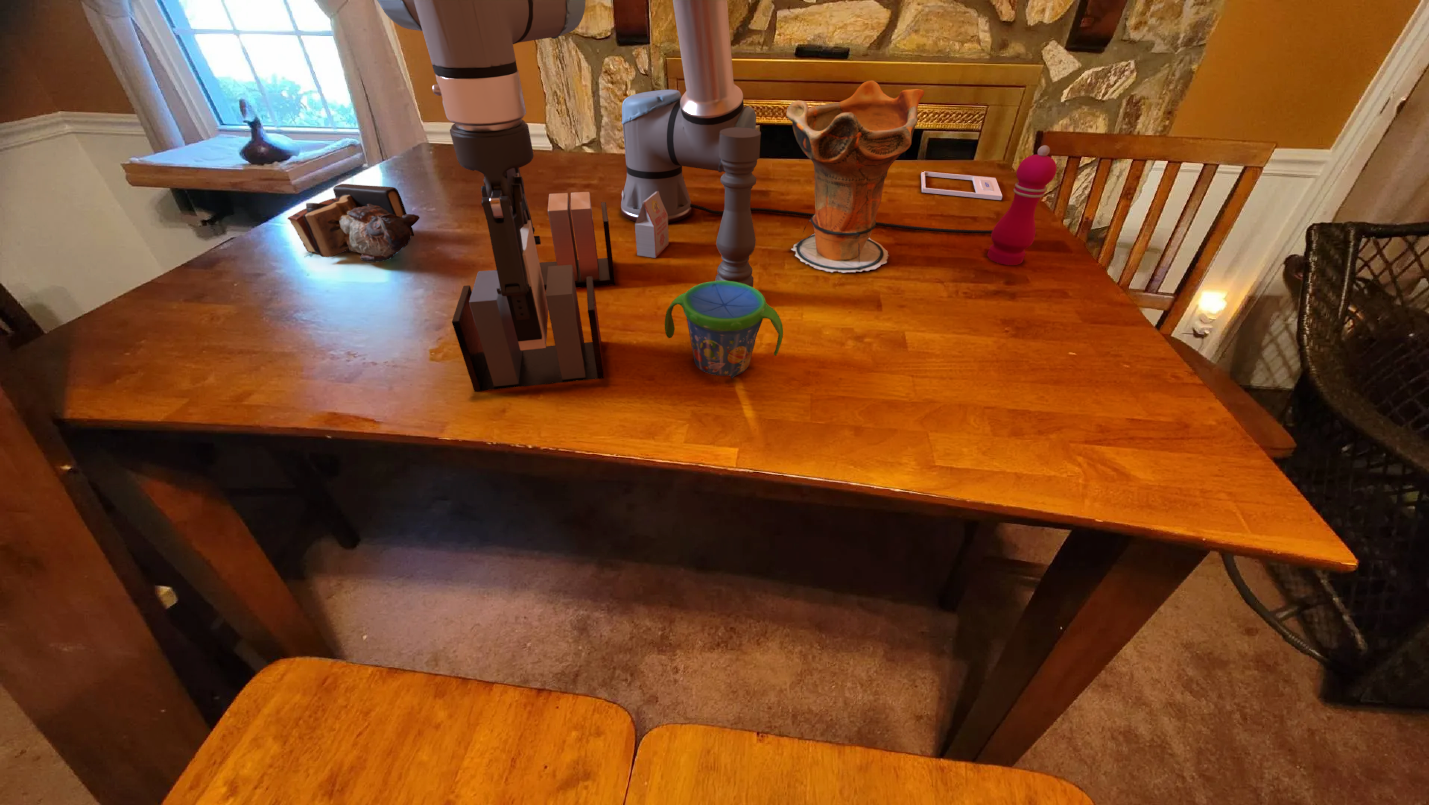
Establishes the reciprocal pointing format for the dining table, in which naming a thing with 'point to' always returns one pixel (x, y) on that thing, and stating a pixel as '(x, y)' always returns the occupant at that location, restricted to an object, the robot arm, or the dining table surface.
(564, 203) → the black rack
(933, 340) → the dining table surface
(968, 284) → the dining table surface
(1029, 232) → the pepper mill
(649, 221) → the milk carton
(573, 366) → the grey book
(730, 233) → the candle holder
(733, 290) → the snack cup
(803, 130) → the decorative vase
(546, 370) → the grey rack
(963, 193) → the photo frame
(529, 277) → the white book
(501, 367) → the grey book
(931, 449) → the dining table surface
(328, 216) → the bookend
